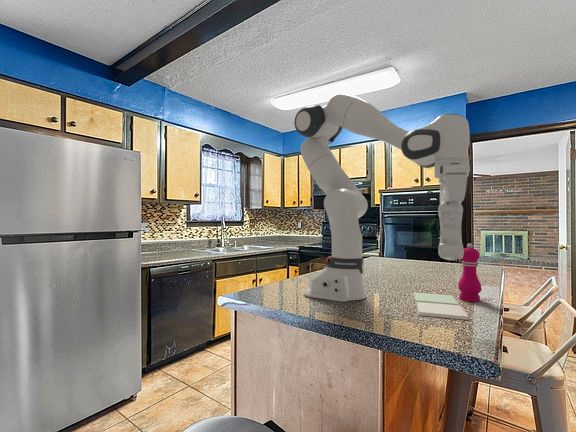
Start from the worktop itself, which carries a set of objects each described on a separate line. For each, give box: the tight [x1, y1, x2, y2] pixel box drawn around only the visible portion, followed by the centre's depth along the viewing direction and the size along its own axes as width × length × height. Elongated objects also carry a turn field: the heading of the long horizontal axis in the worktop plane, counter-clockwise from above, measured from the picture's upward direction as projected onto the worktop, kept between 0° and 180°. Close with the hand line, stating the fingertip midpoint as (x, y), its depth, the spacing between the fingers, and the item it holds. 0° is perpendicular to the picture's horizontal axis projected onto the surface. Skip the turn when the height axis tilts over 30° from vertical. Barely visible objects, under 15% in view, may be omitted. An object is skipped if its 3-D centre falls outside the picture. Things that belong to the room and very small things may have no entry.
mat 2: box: [415, 302, 470, 321], centre depth 96 cm, size 13×12×1 cm
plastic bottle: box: [437, 192, 464, 261], centre depth 90 cm, size 6×7×20 cm
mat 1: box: [413, 292, 460, 306], centre depth 109 cm, size 13×12×1 cm
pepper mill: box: [457, 243, 483, 303], centre depth 111 cm, size 7×7×20 cm
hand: (450, 218), depth 91 cm, fingers closed on plastic bottle, 6 cm apart
